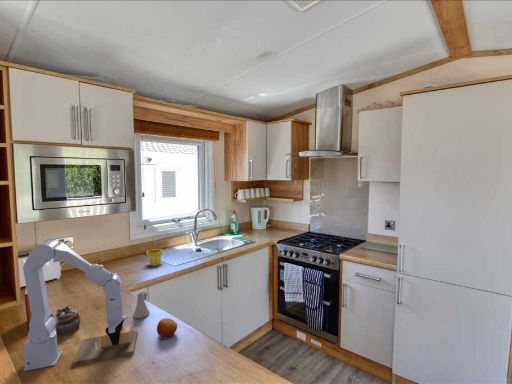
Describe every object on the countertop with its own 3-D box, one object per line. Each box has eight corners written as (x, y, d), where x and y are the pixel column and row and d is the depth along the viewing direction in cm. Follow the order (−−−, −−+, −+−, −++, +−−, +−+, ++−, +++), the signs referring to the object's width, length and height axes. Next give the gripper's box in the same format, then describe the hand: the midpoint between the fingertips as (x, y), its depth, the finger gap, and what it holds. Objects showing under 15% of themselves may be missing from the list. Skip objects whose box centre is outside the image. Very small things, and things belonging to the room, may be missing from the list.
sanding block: (101, 349, 109) (100, 336, 108) (104, 342, 113) (103, 329, 113) (130, 343, 112) (129, 331, 111) (131, 337, 116) (131, 325, 115)
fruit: (149, 334, 118) (157, 314, 120) (165, 336, 123) (173, 317, 125) (158, 342, 112) (167, 321, 115) (174, 344, 117) (182, 324, 120)
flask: (133, 312, 138) (132, 292, 137) (149, 309, 141) (148, 290, 140) (132, 320, 132) (131, 299, 131) (149, 317, 134) (148, 296, 133)
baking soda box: (29, 319, 134) (26, 286, 132) (46, 315, 137) (43, 282, 136) (27, 329, 126) (24, 293, 124) (46, 324, 130) (43, 289, 128)
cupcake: (63, 339, 118) (61, 315, 117) (50, 333, 123) (48, 310, 122) (86, 327, 127) (84, 305, 126) (73, 322, 131) (71, 301, 130)
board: (72, 366, 102) (71, 361, 102) (83, 342, 116) (83, 339, 115) (133, 354, 108) (133, 350, 107) (137, 333, 121) (137, 330, 121)
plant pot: (148, 262, 209) (147, 249, 208) (163, 261, 211) (162, 248, 210) (146, 267, 199) (145, 253, 198) (161, 266, 201) (161, 252, 200)
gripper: (122, 314, 105) (125, 349, 106) (128, 297, 119) (130, 328, 120) (101, 317, 103) (103, 353, 104) (109, 299, 117) (112, 331, 118)
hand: (116, 340), depth 112 cm, fingers closed on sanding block, 4 cm apart
